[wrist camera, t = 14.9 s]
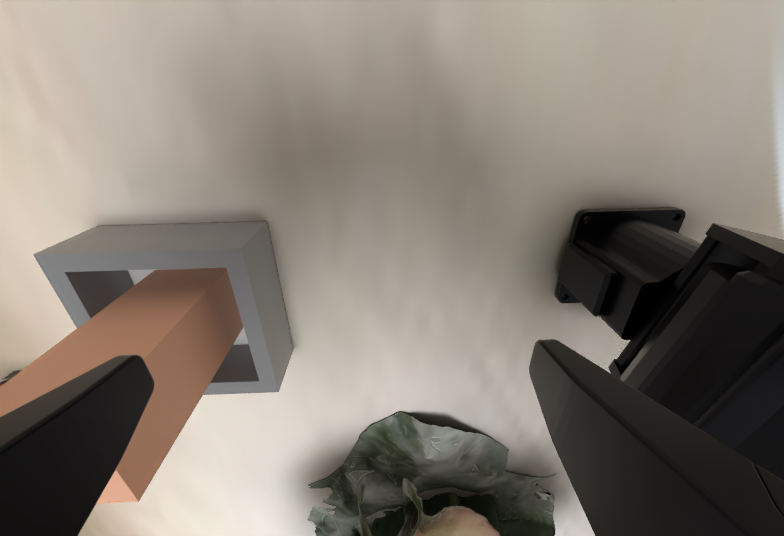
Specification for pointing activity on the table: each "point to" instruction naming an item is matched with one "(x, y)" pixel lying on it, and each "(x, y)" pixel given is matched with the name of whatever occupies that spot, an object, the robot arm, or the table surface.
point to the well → (184, 251)
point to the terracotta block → (146, 360)
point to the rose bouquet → (430, 486)
